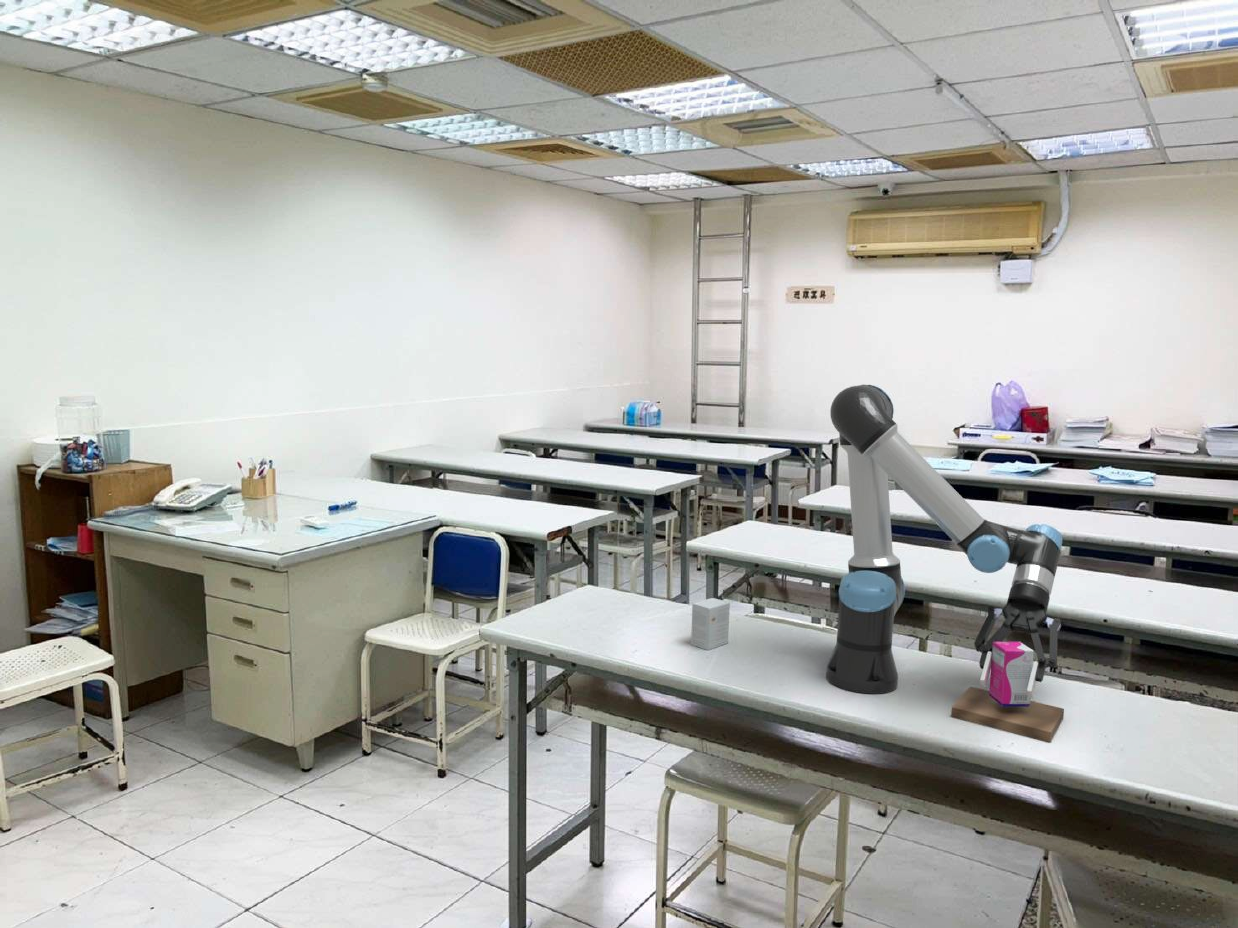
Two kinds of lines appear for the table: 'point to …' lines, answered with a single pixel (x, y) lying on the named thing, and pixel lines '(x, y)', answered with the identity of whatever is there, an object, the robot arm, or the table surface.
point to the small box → (710, 623)
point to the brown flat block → (1008, 715)
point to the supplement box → (1010, 673)
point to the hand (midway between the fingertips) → (1006, 688)
